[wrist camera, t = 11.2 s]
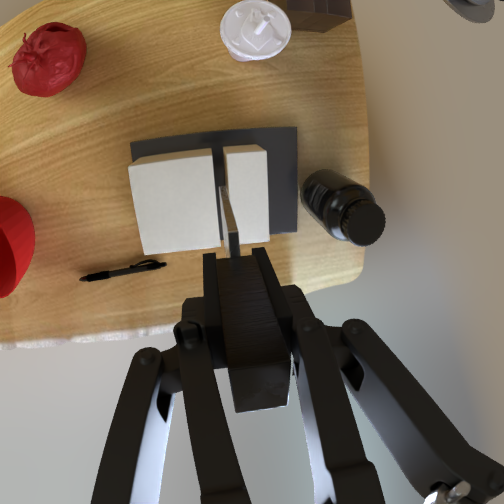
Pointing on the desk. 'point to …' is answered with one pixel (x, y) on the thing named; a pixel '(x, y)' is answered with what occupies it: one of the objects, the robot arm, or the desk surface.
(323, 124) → the desk surface
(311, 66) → the desk surface
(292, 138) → the cake board
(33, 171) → the desk surface
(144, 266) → the pen
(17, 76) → the pomegranate
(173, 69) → the desk surface
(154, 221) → the cake
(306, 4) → the knife block
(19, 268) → the ceramic cup
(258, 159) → the cream rectangular block
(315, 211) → the supplement bottle
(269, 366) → the knife
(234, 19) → the smoothie
